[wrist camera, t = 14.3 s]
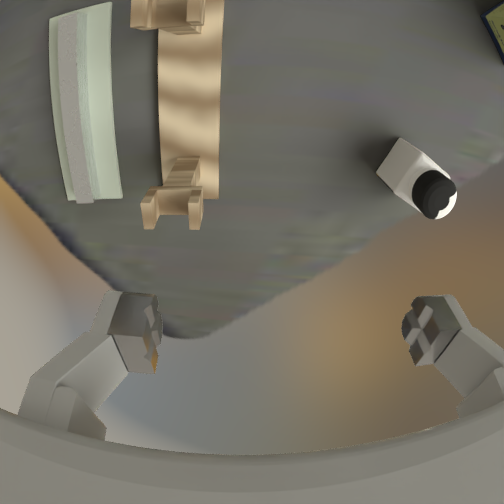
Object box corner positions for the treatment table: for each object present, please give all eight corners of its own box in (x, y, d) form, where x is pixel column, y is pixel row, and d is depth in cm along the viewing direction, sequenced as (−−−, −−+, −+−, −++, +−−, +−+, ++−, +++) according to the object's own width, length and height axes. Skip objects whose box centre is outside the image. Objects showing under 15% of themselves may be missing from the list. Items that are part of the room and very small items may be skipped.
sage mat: (51, 18, 26) (49, 18, 25) (112, 2, 26) (110, 1, 26) (69, 198, 43) (68, 200, 43) (122, 196, 44) (121, 198, 43)
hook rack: (162, -6, 27) (122, -34, 15) (224, -10, 27) (216, -45, 15) (165, 195, 44) (139, 256, 32) (218, 195, 45) (211, 257, 33)
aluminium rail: (69, 19, 26) (58, 18, 24) (87, 13, 26) (77, 12, 24) (84, 194, 43) (76, 203, 40) (100, 193, 43) (93, 202, 40)
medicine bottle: (374, 172, 43) (409, 211, 34) (399, 136, 40) (442, 165, 30) (404, 193, 45) (440, 233, 36) (428, 160, 42) (470, 193, 32)
